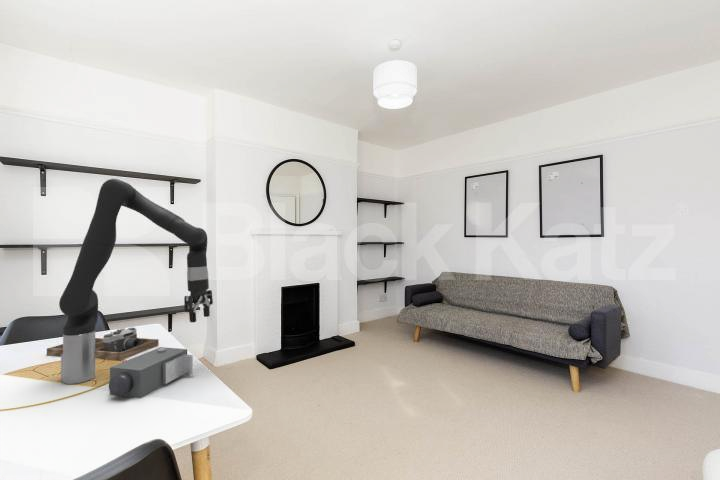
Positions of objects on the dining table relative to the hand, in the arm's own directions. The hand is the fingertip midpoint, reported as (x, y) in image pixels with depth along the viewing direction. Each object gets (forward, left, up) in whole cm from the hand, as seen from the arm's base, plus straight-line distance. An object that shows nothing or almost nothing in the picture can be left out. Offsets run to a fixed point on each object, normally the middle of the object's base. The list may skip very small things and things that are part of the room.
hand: (200, 319), depth 137 cm
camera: (-48, +13, -20) cm, 53 cm away
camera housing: (-9, -16, -20) cm, 27 cm away
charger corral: (-69, +10, -20) cm, 73 cm away
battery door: (-1, -11, -19) cm, 22 cm away
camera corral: (-47, +13, -20) cm, 53 cm away
